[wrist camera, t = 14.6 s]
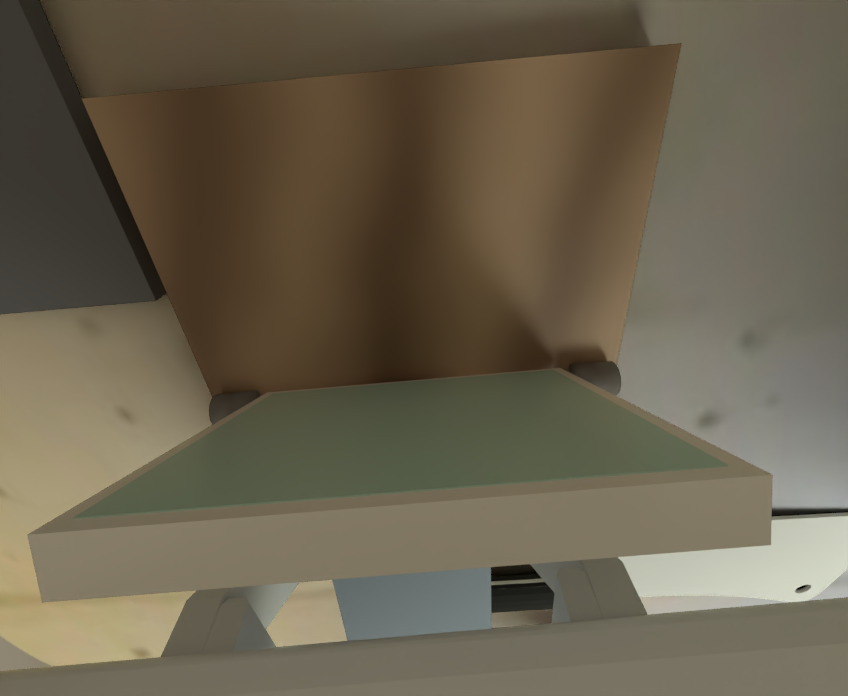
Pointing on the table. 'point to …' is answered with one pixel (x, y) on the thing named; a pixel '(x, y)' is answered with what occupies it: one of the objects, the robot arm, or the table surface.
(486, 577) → the grey rectangular prism
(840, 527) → the kitchen cleaver
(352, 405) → the tile
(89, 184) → the pad
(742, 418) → the table surface
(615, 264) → the hinge board
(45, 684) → the robot arm
